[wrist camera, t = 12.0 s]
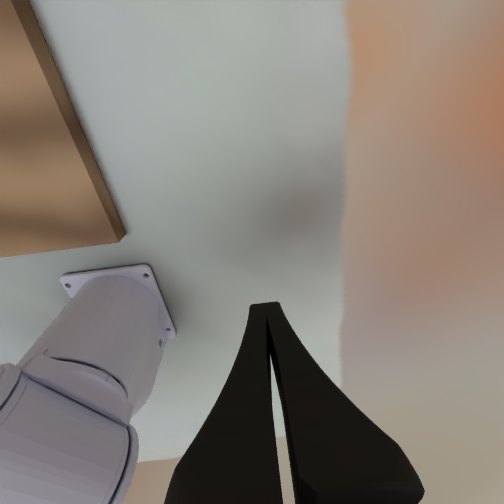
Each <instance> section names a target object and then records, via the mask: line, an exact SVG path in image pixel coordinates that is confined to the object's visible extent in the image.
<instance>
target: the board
mask: <svg viewBox="0 0 504 504" xmlns="http://www.w3.org/2000/svg"><path fill="white" fill-rule="evenodd" d="M125 234H126V232H125V230H124V228H123V225H122V223H121V220H120V218H119V216H118V213H117V211H116V209H115V206H114V204H113V201H112V199H111V197H110V194H109V192H108V190H107V187H106V185H105V182H104V180H103V178H102V175H101V173H100V170H99V168H98V166H97V163H96V161H95V159H94V156H93V154H92V151H91V149H90V147H89V144H88V142H87V139H86V137H85V135H84V132H83V130H82V128H81V125H80V123H79V120H78V118H77V116H76V113H75V111H74V109H73V106H72V104H71V101H70V99H69V97H68V94H67V92H66V89H65V87H64V85H63V82H62V80H61V78H60V75H59V73H58V70H57V68H56V66H55V63H54V61H53V58H52V56H51V54H50V51H49V49H48V47H47V44H46V42H45V39H44V37H43V35H42V32H41V30H40V28H39V25H38V23H37V20H36V18H35V16H34V13H33V11H32V8H31V6H30V4H29V1H28V0H0V257H7V256H15V255H23V254H30V253H38V252H46V251H54V250H62V249H70V248H78V247H86V246H94V245H102V244H110V243H118V242H120V240H121V239H122V238H123V237H124V236H125Z"/></svg>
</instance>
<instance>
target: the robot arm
mask: <svg viewBox="0 0 504 504" xmlns="http://www.w3.org/2000/svg"><path fill="white" fill-rule="evenodd" d="M145 273H146V274H148V276H147V275H145ZM59 281H60V283H61V284H62V286H63V287H64V289H65V290H66V292H67V293H68V295H69V297H70V298H71V301H70V302H69V303H68V304H67V305H66V306H65V308H64V309H63V310H62V311H61V312H60V314H59V315H58V316H57V317H56V318H55V320H54V321H53V322H52V323H51V324H50V326H49V327H48V328H47V329H46V330H45V331H44V333H43V334H42V335H41V336H40V337H39V339H38V340H37V341H36V342H35V343H34V345H33V346H32V347H31V348H30V349H29V351H28V352H27V353H26V354H25V355H24V357H23V358H22V359H21V360H20V361H19V362H18V364H17V365H16V366H15V365H14V364H11V363H6V364H2V365H0V504H122V503H123V501H124V499H125V497H126V494H127V492H128V490H129V488H130V485H131V482H132V479H133V476H134V472H135V468H136V464H137V459H138V451H139V439H138V434H137V432H136V430H135V428H134V427H133V426H132V425H130V424H129V422H130V419H131V417H133V416H134V415H135V414H136V413H137V412H138V411H139V410H140V409H141V407H142V406H143V405H144V404H145V402H146V401H147V399H148V397H149V396H150V394H151V391H152V388H153V385H154V382H155V378H156V375H157V371H158V368H159V364H160V361H161V357H162V354H163V350H164V347H165V343H166V340H167V339H173V338H175V337H176V331H175V329H174V326H173V324H172V321H171V319H170V316H169V314H168V311H167V309H166V306H165V303H164V301H163V298H162V296H161V293H160V291H159V288H158V286H157V283H156V281H155V278H154V275H153V273H152V270H151V268H150V267H149V266H148V265H145V264H143V265H135V266H127V267H119V268H111V269H103V270H95V271H87V272H80V273H72V274H64V275H62V276H61V277H60V278H59ZM69 284H70V285H69ZM270 355H271V359H272V364H273V368H274V373H275V377H276V382H277V386H278V391H279V396H280V400H281V405H282V411H283V417H284V425H285V432H286V439H287V446H288V453H289V460H290V468H291V475H292V483H293V490H294V497H295V504H418V503H419V502H420V500H421V499H422V497H423V495H424V492H425V490H424V488H423V486H422V483H421V481H420V479H419V477H418V475H417V473H416V471H415V470H414V468H413V466H412V465H411V463H410V461H409V460H408V458H407V457H406V455H405V454H404V452H403V451H402V449H401V448H400V446H399V445H398V444H397V443H396V442H395V441H394V440H393V439H391V438H390V437H389V436H388V435H387V434H385V433H384V432H383V431H382V430H381V429H380V428H379V427H378V426H377V425H375V424H374V423H373V422H372V421H371V420H370V419H369V418H368V417H367V416H366V415H365V414H364V413H363V412H362V411H360V410H359V409H358V408H357V407H356V406H355V405H354V404H353V403H352V402H351V401H350V400H349V399H348V398H347V396H346V395H345V394H344V393H343V392H342V391H341V390H340V389H339V388H338V387H337V386H336V385H335V384H334V383H333V382H332V381H331V379H330V378H329V377H328V376H327V375H326V374H325V373H324V371H323V370H322V369H321V368H320V367H319V365H318V364H317V363H316V362H315V360H314V359H313V358H312V356H311V355H310V354H309V352H308V351H307V350H306V348H305V347H304V346H303V344H302V343H301V341H300V340H299V338H298V337H297V335H296V333H295V332H294V330H293V329H292V327H291V325H290V324H289V322H288V320H287V318H286V316H285V314H284V312H283V310H282V308H281V305H280V303H279V302H269V303H260V304H252V305H251V306H250V307H249V316H248V321H247V326H246V330H245V333H244V336H243V340H242V343H241V346H240V349H239V352H238V354H237V357H236V360H235V362H234V365H233V367H232V370H231V372H230V374H229V377H228V379H227V381H226V383H225V385H224V387H223V389H222V391H221V393H220V395H219V397H218V399H217V401H216V403H215V405H214V407H213V408H212V410H211V412H210V414H209V415H208V417H207V419H206V420H205V422H204V424H203V426H202V427H201V429H200V431H199V432H198V434H197V436H196V437H195V439H194V440H193V442H192V443H191V445H190V446H189V448H188V449H187V451H186V452H185V454H184V455H183V457H182V458H181V460H180V461H179V463H178V464H177V466H176V468H175V470H174V473H173V476H172V479H171V481H170V484H169V488H168V491H167V494H166V498H165V502H164V504H283V499H282V491H281V482H280V473H279V464H278V456H277V447H276V438H275V429H274V420H273V410H272V390H271V362H270Z"/></svg>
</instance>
